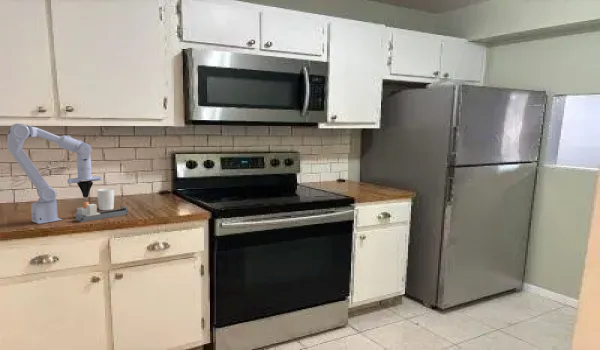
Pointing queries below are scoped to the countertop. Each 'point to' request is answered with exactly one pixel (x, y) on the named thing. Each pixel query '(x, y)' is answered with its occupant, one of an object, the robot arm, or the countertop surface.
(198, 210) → the countertop surface
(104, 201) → the white cup
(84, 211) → the white hollow block
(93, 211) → the carriage
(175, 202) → the countertop surface
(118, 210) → the rail
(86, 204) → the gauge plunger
